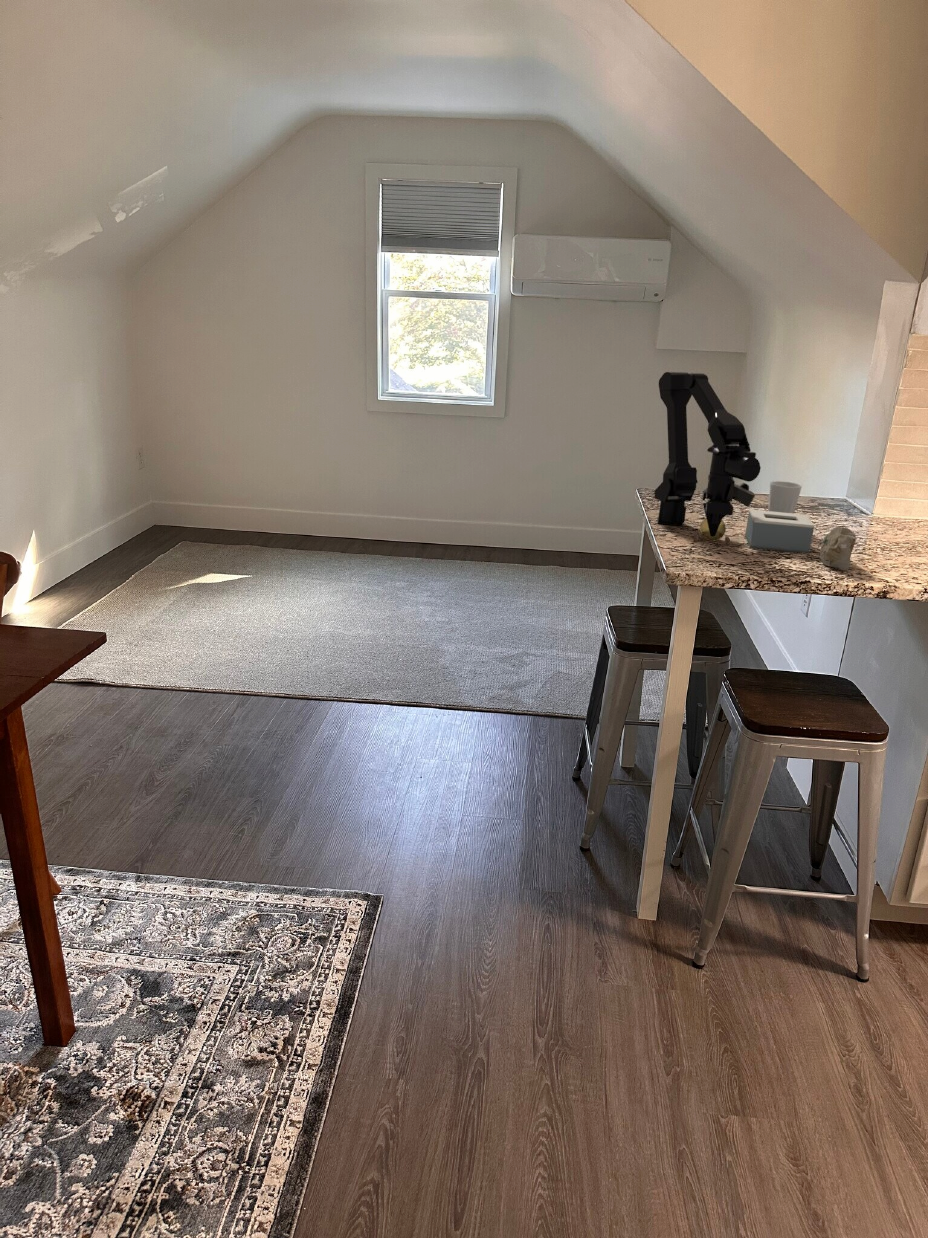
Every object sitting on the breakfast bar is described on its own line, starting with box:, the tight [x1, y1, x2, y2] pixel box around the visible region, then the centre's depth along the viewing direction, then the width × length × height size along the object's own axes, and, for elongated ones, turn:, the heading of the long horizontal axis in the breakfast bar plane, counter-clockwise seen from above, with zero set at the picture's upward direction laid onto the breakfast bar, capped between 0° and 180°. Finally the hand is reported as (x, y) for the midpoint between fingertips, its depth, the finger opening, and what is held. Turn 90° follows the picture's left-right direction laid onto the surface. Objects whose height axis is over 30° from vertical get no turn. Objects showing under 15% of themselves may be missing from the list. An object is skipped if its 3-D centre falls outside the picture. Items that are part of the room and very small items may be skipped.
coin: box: [699, 517, 727, 542], centre depth 227 cm, size 6×2×6 cm, turn 79°
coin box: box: [744, 509, 815, 554], centre depth 227 cm, size 14×12×7 cm
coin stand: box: [693, 532, 731, 545], centre depth 228 cm, size 9×5×1 cm, turn 79°
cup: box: [767, 480, 802, 514], centre depth 243 cm, size 8×8×12 cm
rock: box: [819, 526, 857, 571], centre depth 211 cm, size 12×7×10 cm, turn 159°
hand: (712, 535), depth 228 cm, fingers closed on coin, 2 cm apart
